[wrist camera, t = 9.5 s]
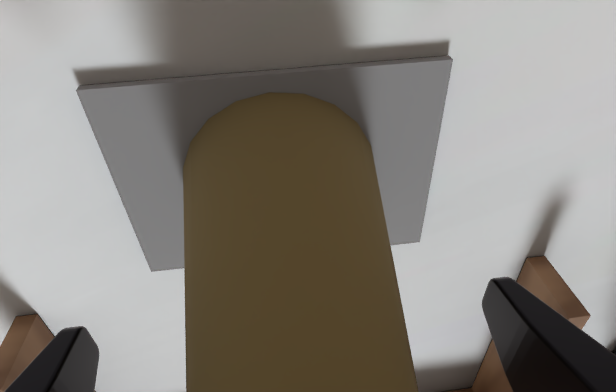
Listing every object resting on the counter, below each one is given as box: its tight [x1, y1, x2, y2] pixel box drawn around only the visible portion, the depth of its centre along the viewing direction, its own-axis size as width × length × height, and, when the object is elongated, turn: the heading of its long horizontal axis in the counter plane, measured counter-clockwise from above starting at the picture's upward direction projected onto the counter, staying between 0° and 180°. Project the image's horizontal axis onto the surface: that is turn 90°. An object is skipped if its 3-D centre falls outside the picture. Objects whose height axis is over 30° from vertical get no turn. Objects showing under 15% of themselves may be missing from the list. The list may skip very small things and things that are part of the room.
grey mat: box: [76, 56, 453, 272], centre depth 13 cm, size 10×7×1 cm
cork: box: [183, 92, 418, 392], centre depth 9 cm, size 6×6×11 cm
